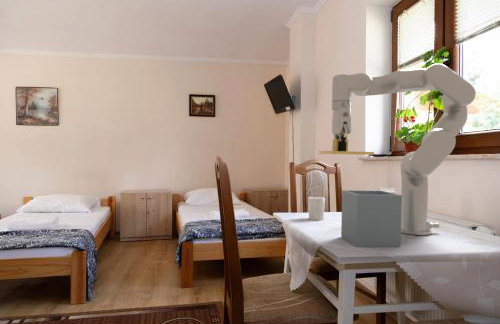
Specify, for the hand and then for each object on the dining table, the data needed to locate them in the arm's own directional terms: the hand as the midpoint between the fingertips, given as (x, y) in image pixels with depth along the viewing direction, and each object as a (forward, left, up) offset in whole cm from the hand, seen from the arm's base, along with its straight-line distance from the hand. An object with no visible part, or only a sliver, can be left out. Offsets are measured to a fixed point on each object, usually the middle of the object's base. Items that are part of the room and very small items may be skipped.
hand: (339, 151), depth 152 cm
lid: (0, +6, -1) cm, 6 cm away
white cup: (+3, -22, -32) cm, 39 cm away
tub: (-4, +23, -31) cm, 39 cm away
